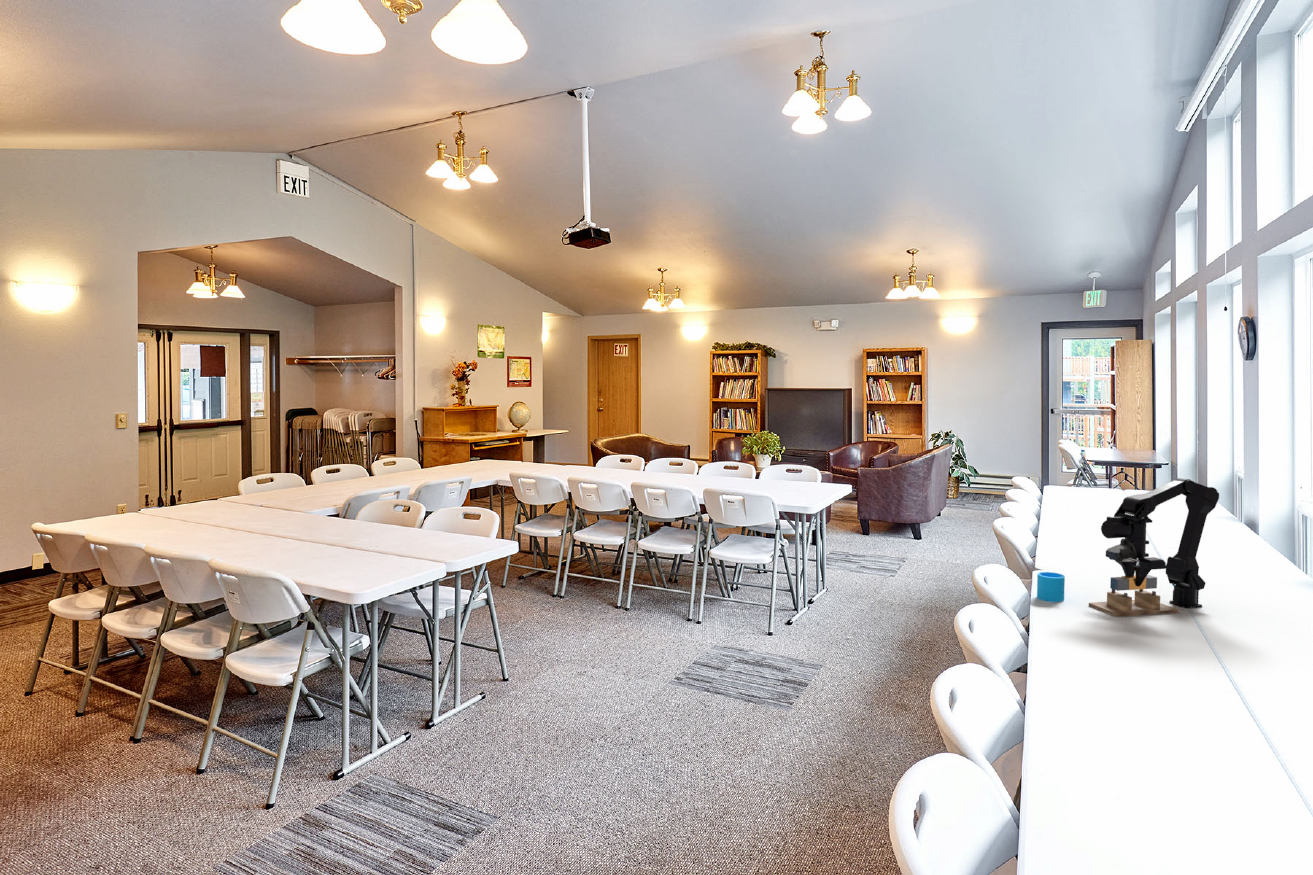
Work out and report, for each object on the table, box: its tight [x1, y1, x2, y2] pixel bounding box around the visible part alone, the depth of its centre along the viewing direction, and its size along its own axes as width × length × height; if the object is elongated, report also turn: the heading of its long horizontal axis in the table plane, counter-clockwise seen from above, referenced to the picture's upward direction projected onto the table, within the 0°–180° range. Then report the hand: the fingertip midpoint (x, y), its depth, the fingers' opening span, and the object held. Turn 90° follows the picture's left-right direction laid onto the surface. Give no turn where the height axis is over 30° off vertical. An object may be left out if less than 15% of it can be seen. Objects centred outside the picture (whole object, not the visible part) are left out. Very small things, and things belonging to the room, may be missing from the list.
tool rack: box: [1088, 589, 1180, 618], centre depth 241 cm, size 22×12×6 cm, turn 98°
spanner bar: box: [1110, 574, 1158, 592], centre depth 240 cm, size 14×3×4 cm, turn 98°
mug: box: [1036, 571, 1066, 603], centre depth 255 cm, size 12×8×8 cm
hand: (1133, 584), depth 241 cm, fingers closed on spanner bar, 3 cm apart
